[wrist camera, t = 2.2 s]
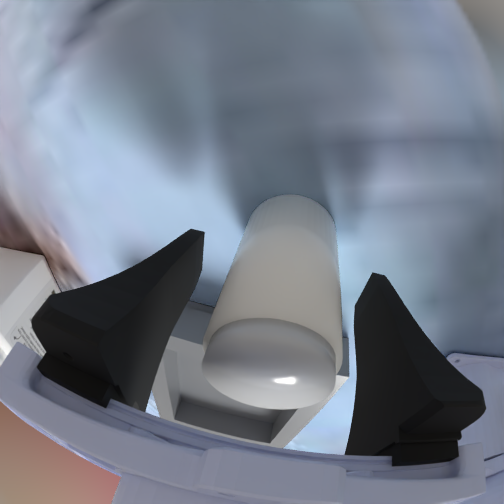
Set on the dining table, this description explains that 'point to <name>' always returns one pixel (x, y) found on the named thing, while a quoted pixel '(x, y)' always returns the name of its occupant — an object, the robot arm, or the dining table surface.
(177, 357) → the tray
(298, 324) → the shaker
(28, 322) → the container
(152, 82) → the dining table surface
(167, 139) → the dining table surface
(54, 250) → the dining table surface
